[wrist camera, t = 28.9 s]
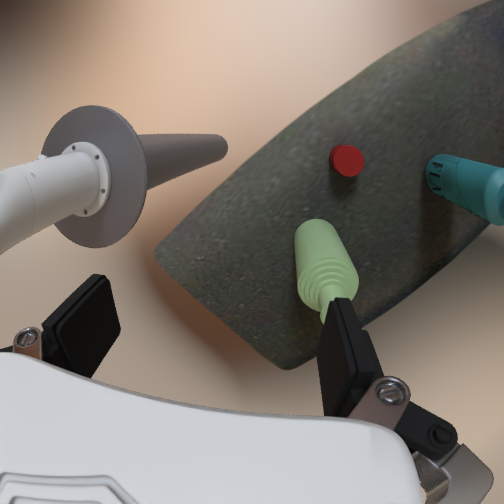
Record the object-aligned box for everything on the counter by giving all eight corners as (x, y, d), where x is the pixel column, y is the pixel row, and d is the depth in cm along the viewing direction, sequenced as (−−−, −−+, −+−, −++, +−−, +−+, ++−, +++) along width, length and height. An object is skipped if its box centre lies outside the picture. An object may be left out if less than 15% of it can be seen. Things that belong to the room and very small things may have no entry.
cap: (361, 151, 34) (369, 153, 30) (351, 177, 35) (358, 181, 32) (334, 140, 34) (340, 140, 30) (324, 166, 35) (329, 169, 32)
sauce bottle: (286, 249, 40) (286, 330, 24) (306, 211, 38) (324, 272, 21) (324, 267, 41) (345, 352, 24) (345, 230, 38) (385, 301, 22)
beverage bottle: (417, 151, 32) (512, 174, 14) (452, 151, 31) (547, 176, 13) (420, 195, 35) (506, 247, 16) (453, 193, 34) (541, 240, 15)
